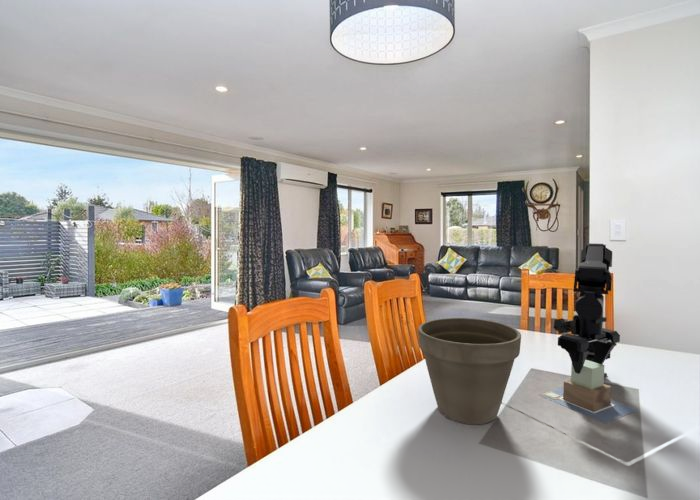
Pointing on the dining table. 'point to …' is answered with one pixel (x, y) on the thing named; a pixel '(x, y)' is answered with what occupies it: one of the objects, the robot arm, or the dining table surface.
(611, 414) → the board
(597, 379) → the sage cube
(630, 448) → the dining table surface
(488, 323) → the plant pot
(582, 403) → the walnut base block
